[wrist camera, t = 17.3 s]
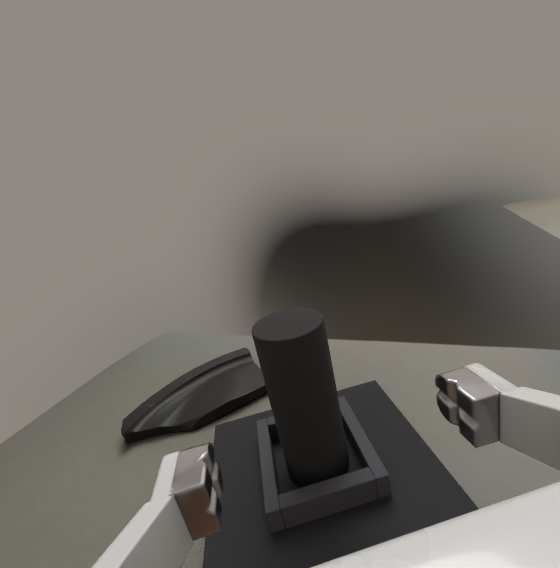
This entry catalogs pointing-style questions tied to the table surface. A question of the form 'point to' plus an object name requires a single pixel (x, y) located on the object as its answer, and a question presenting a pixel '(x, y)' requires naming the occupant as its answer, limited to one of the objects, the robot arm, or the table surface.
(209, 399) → the dark sector wedge
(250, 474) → the base pad
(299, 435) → the dark cylindrical post
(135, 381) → the table surface
